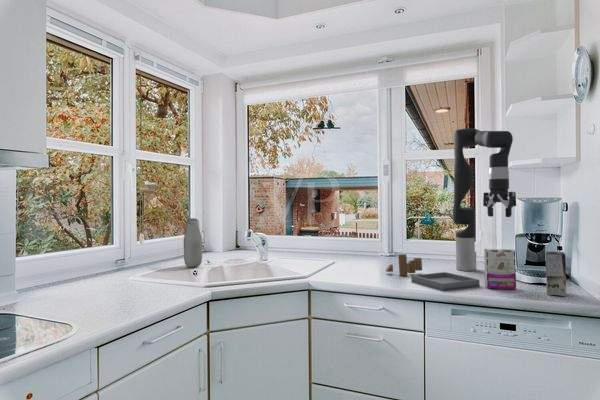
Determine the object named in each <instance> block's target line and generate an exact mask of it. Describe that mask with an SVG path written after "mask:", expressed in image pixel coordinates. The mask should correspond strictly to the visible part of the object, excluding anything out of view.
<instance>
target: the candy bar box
mask: <svg viewBox="0 0 600 400" xmlns="http://www.w3.org/2000/svg"><path fill="white" fill-rule="evenodd" d="M483 250H484V251H483V252H484V253H483V256H484V257H483V258H484V260H483V261H484V286H485V288H486V289H487V290H504V291H505V290H506V291H507V290H509V291H511V290H512V291H516V290H517V272H516V267H517V266H516V265H517V264H516V250H514V249H511V248H506V249H505V248H492V249H491V248H489V249H488V248H484V249H483Z"/></svg>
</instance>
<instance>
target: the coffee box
mask: <svg viewBox="0 0 600 400" xmlns="http://www.w3.org/2000/svg"><path fill="white" fill-rule="evenodd" d="M566 255H567V254H565V252H564V251H545V270H546V271H545V281H546V283H545V284H546V294H547V295H552V296H562V297H565V296H566V295H567V267H566V266H567V265H566V264H567V262H566V260H567V259H566V257H567V256H566Z"/></svg>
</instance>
